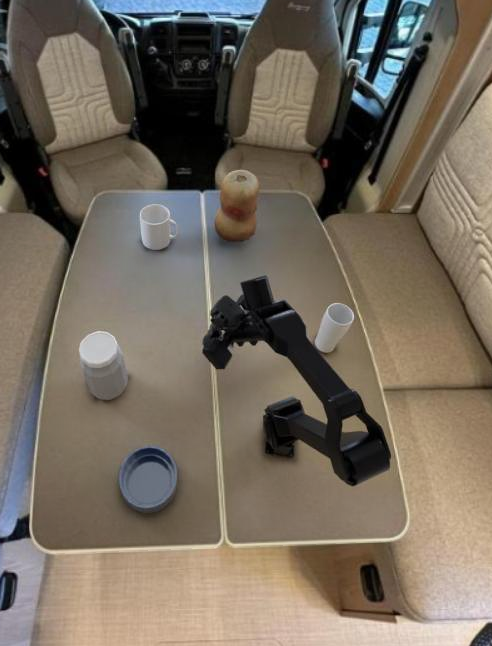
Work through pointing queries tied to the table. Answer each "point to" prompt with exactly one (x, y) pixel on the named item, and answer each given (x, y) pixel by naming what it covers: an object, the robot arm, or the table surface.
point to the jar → (103, 365)
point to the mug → (156, 226)
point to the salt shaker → (210, 332)
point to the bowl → (148, 479)
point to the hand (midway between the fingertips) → (209, 332)
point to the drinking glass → (333, 326)
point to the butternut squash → (237, 207)
